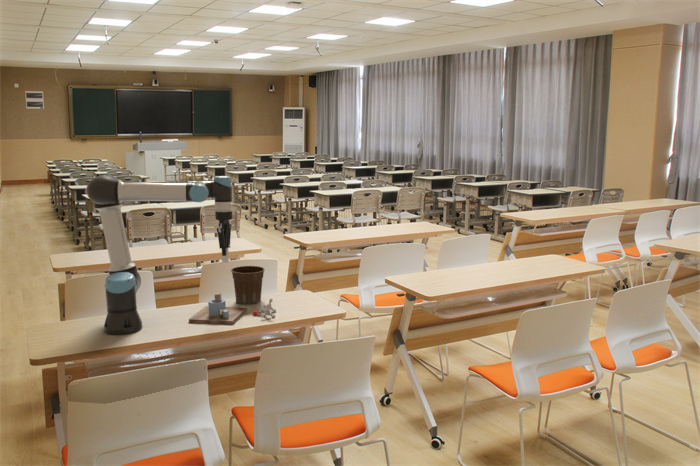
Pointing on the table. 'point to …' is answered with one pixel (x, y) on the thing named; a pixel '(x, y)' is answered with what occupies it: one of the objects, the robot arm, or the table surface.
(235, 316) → the post base
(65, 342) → the table surface
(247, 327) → the table surface
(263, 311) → the molecular model
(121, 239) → the robot arm
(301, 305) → the table surface
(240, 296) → the plant pot
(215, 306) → the flange collar
